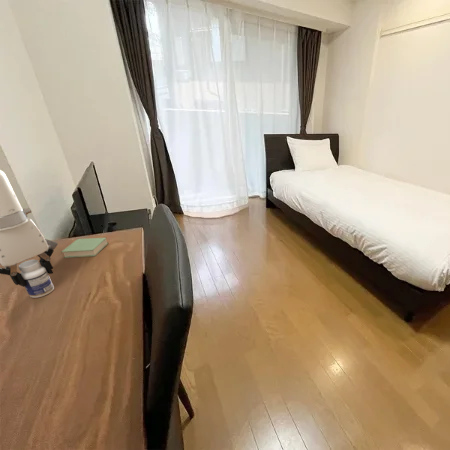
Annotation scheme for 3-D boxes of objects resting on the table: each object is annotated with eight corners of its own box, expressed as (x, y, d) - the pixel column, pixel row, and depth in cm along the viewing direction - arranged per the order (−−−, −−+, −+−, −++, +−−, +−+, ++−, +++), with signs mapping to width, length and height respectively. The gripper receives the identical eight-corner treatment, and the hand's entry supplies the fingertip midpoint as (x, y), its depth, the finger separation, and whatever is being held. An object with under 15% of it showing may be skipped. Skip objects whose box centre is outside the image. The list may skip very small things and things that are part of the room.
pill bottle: (29, 291, 77) (14, 263, 73) (53, 283, 81) (40, 255, 77) (30, 301, 74) (14, 271, 70) (55, 292, 77) (42, 263, 73)
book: (64, 257, 93) (61, 251, 92) (80, 244, 101) (77, 238, 100) (95, 256, 94) (92, 250, 93) (108, 243, 102) (106, 237, 101)
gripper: (37, 205, 76) (62, 259, 84) (-53, 231, 62) (-13, 293, 70) (53, 209, 73) (77, 265, 81) (-38, 237, 59) (2, 302, 67)
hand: (35, 278), depth 75 cm, fingers closed on pill bottle, 5 cm apart
